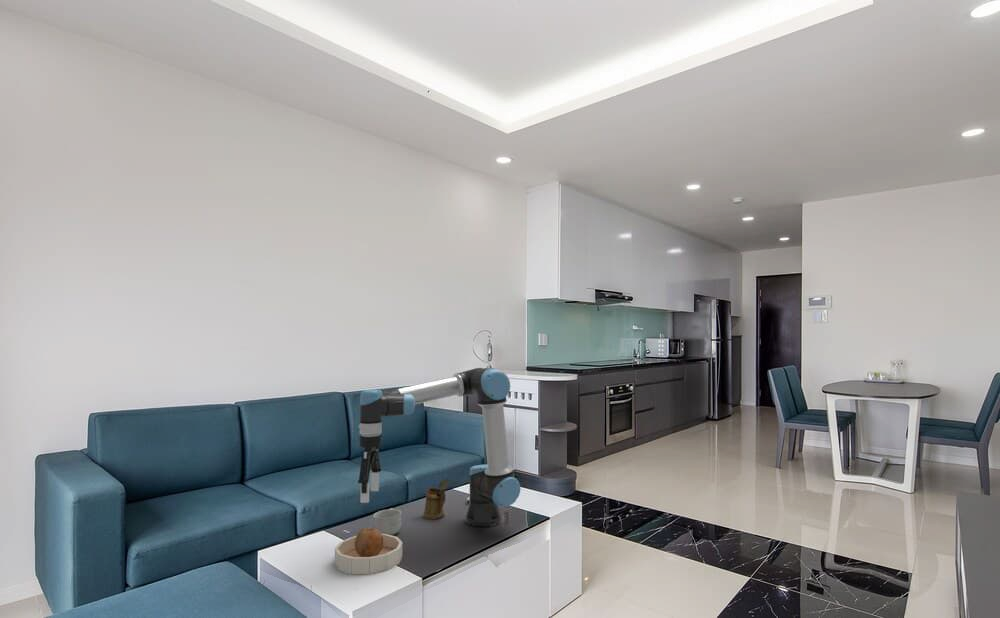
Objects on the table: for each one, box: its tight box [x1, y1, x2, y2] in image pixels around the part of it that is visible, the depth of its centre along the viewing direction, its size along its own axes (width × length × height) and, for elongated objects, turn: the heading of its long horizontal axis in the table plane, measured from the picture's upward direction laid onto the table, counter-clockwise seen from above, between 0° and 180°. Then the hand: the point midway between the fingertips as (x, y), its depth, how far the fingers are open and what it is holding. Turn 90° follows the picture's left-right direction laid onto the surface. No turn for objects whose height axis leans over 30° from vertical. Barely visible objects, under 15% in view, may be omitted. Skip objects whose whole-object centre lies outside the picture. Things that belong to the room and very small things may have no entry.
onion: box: [355, 526, 383, 557], centre depth 183 cm, size 10×10×10 cm
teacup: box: [373, 507, 402, 536], centre depth 210 cm, size 14×11×8 cm
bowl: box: [334, 534, 403, 575], centre depth 183 cm, size 22×22×5 cm
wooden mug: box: [422, 476, 451, 520], centre depth 228 cm, size 9×14×18 cm, turn 49°
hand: (369, 496), depth 184 cm, fingers open, 13 cm apart
